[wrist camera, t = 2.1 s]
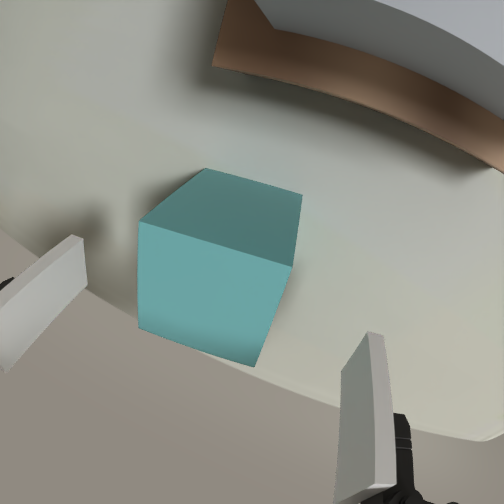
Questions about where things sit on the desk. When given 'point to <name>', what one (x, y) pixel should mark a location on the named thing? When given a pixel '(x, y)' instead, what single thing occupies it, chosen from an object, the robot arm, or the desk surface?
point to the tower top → (412, 37)
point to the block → (217, 263)
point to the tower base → (356, 80)
